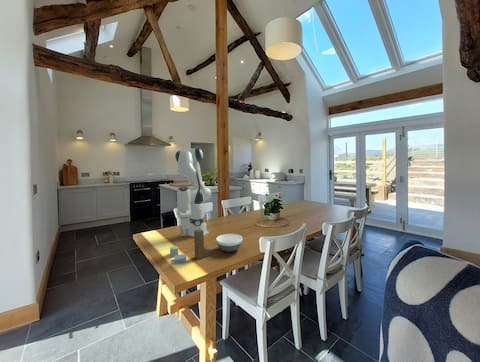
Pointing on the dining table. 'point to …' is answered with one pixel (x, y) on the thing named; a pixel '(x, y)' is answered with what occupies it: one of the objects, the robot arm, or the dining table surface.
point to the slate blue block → (180, 258)
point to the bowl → (229, 242)
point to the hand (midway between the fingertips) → (184, 231)
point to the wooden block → (200, 245)
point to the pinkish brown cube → (186, 232)
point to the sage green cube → (173, 251)
